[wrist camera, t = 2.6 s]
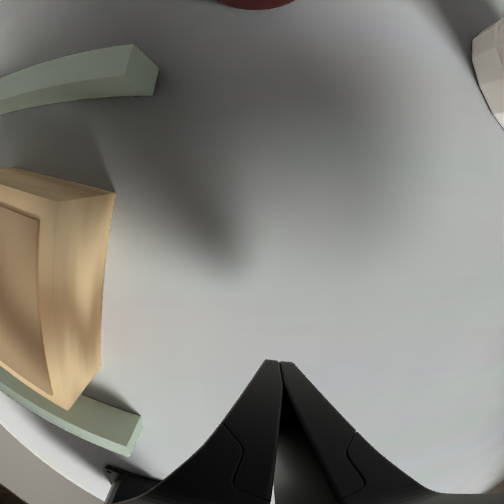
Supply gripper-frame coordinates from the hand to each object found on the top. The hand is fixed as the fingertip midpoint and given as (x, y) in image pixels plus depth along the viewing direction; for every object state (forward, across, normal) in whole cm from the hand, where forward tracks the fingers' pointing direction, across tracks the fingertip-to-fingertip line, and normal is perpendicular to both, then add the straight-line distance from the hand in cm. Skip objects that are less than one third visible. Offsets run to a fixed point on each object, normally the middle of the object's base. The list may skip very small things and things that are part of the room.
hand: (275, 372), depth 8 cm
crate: (+4, +11, 0) cm, 12 cm away
